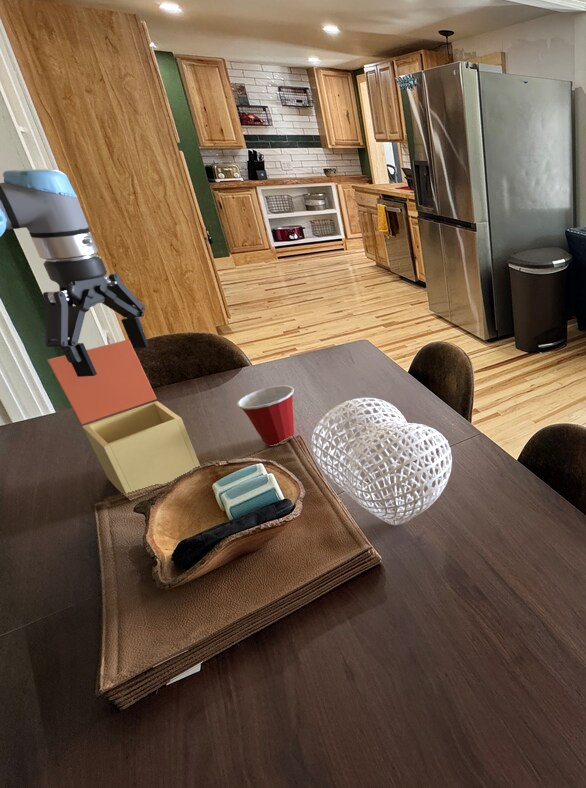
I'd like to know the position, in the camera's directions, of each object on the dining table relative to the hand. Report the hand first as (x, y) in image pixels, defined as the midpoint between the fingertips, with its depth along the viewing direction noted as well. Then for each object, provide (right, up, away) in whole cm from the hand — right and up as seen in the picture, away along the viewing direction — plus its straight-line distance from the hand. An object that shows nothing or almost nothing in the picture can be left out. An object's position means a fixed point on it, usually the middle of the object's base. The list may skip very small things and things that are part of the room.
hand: (116, 360), depth 96 cm
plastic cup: (+24, -19, +14) cm, 34 cm away
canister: (+6, -24, +3) cm, 25 cm away
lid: (0, -4, -2) cm, 4 cm away
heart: (+61, -29, -9) cm, 68 cm away
